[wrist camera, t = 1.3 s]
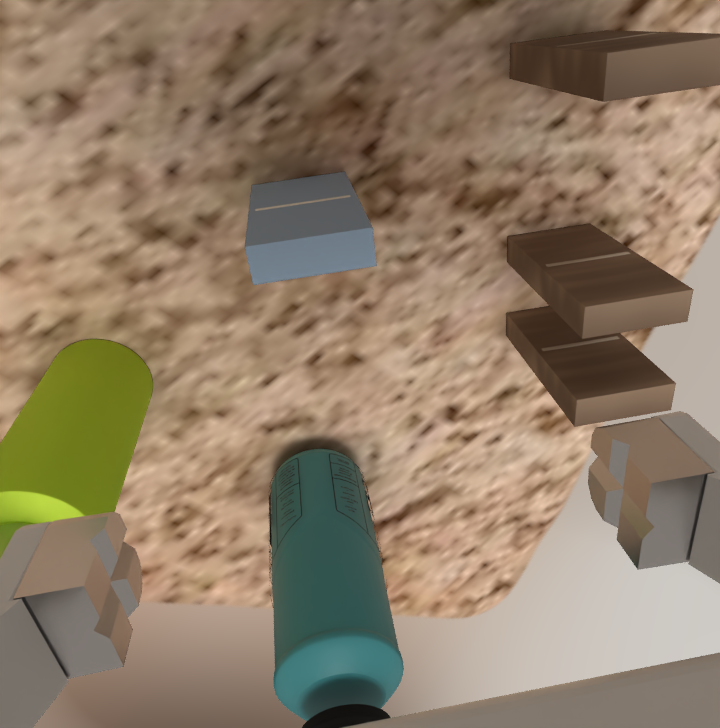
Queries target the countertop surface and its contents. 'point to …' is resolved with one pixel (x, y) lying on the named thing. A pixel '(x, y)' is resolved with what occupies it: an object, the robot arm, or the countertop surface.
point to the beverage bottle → (329, 595)
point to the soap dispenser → (73, 437)
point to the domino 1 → (307, 229)
